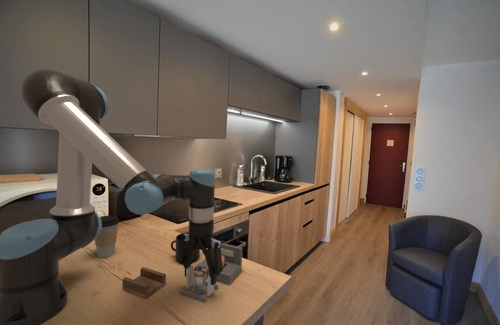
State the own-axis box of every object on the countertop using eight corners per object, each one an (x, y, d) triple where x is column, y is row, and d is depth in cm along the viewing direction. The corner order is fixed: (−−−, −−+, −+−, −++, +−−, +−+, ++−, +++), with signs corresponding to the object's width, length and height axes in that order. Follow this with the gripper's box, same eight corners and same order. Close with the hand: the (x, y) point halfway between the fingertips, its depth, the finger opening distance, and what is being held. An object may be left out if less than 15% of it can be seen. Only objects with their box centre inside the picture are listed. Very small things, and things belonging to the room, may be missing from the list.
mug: (175, 251, 99) (176, 230, 99) (202, 254, 98) (203, 233, 97) (165, 262, 90) (165, 239, 89) (194, 265, 89) (195, 242, 88)
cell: (201, 296, 71) (201, 271, 70) (190, 292, 72) (190, 268, 72) (208, 289, 74) (209, 265, 74) (198, 285, 76) (198, 262, 75)
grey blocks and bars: (212, 304, 67) (212, 275, 66) (173, 291, 72) (174, 263, 72) (241, 271, 85) (242, 247, 85) (209, 262, 91) (209, 240, 90)
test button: (220, 272, 80) (220, 261, 80) (209, 269, 82) (209, 258, 82) (226, 266, 84) (226, 256, 84) (215, 264, 86) (216, 253, 86)
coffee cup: (88, 260, 89) (87, 222, 88) (97, 250, 98) (97, 215, 97) (115, 258, 91) (115, 221, 90) (122, 248, 100) (122, 214, 99)
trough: (146, 298, 69) (146, 287, 68) (122, 289, 73) (122, 278, 72) (165, 284, 76) (165, 274, 76) (143, 276, 80) (143, 266, 80)
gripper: (236, 221, 71) (233, 292, 73) (183, 211, 79) (182, 275, 81) (224, 228, 64) (221, 307, 66) (167, 217, 72) (166, 287, 74)
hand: (199, 289), depth 73 cm, fingers open, 7 cm apart
